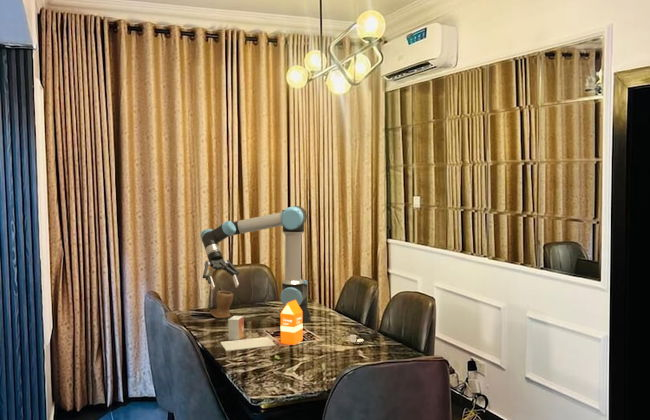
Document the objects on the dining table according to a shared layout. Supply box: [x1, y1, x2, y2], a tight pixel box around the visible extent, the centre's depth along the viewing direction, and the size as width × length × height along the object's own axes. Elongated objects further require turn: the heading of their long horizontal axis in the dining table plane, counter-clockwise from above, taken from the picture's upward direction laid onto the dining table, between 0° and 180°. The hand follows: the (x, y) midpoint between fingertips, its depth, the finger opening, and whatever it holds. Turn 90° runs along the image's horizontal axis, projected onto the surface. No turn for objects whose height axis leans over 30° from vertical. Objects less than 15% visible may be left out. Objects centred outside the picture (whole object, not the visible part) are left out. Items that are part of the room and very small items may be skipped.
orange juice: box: [280, 300, 304, 346], centre depth 280 cm, size 8×9×20 cm
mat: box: [219, 336, 277, 352], centre depth 277 cm, size 24×15×1 cm, turn 111°
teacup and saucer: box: [347, 334, 364, 343], centre depth 278 cm, size 9×8×4 cm
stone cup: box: [209, 290, 234, 319], centre depth 333 cm, size 15×12×15 cm
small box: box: [227, 315, 245, 341], centre depth 287 cm, size 8×6×10 cm
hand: (225, 287), depth 298 cm, fingers open, 13 cm apart
